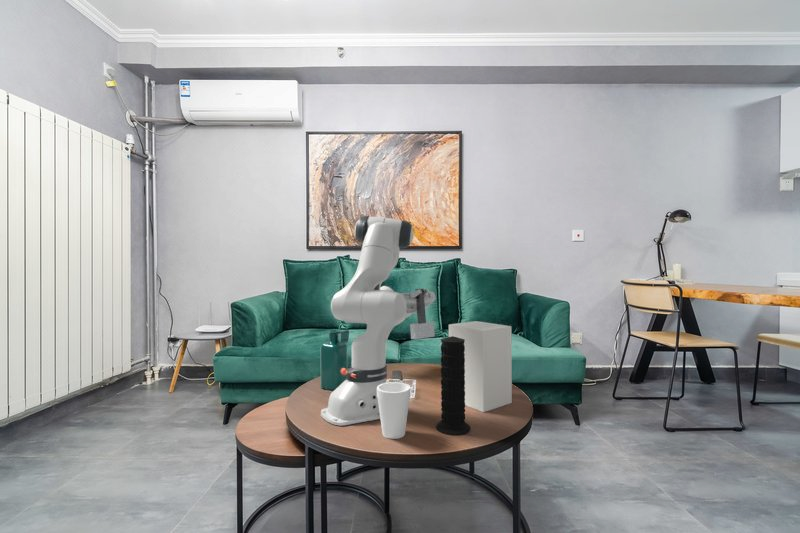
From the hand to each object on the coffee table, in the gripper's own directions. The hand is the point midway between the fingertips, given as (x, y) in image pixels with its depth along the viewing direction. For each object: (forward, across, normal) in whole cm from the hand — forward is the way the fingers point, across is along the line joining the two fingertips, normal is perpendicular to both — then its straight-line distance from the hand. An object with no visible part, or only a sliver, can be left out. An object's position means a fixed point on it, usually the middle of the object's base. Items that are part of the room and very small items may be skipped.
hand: (423, 290), depth 160 cm
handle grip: (+18, -23, +52) cm, 60 cm away
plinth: (+8, 0, +46) cm, 47 cm away
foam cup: (+11, -39, +49) cm, 64 cm away
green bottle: (-30, -33, +25) cm, 51 cm away
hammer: (-7, 0, +6) cm, 10 cm away
